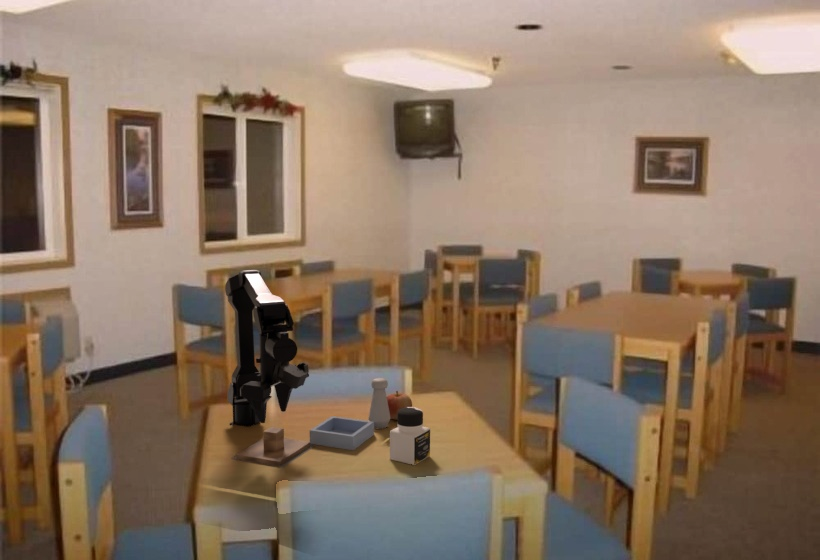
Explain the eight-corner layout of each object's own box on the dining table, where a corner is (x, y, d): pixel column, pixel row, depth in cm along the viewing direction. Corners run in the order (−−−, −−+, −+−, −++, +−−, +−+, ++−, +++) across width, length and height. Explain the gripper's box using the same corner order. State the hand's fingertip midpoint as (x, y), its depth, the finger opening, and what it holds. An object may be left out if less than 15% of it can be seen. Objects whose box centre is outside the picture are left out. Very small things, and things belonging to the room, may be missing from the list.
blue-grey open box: (309, 445, 190) (309, 430, 190) (332, 430, 201) (332, 416, 201) (353, 452, 186) (353, 436, 185) (373, 436, 197) (373, 421, 196)
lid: (235, 458, 180) (235, 435, 179) (268, 439, 193) (267, 418, 192) (280, 465, 176) (279, 442, 175) (310, 445, 188) (310, 424, 188)
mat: (231, 461, 180) (231, 458, 180) (266, 440, 194) (266, 438, 194) (282, 469, 175) (282, 467, 175) (314, 448, 189) (314, 445, 189)
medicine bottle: (414, 465, 178) (415, 415, 176) (389, 459, 181) (389, 410, 180) (430, 456, 184) (430, 407, 182) (405, 450, 187) (405, 403, 186)
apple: (395, 425, 206) (395, 396, 205) (377, 417, 212) (377, 389, 211) (418, 419, 211) (418, 391, 210) (400, 412, 217) (400, 384, 216)
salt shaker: (387, 430, 202) (387, 382, 200) (366, 429, 203) (366, 381, 201) (392, 423, 207) (392, 376, 205) (371, 422, 208) (371, 375, 207)
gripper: (280, 365, 169) (281, 433, 172) (321, 348, 186) (321, 409, 189) (238, 360, 173) (239, 427, 176) (281, 343, 191) (282, 404, 193)
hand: (273, 417), depth 183 cm, fingers open, 9 cm apart
